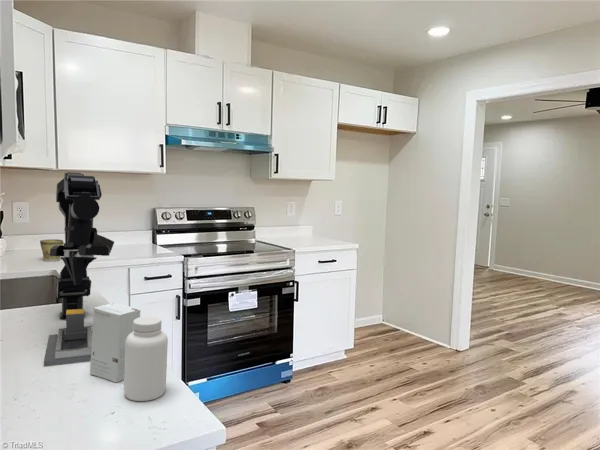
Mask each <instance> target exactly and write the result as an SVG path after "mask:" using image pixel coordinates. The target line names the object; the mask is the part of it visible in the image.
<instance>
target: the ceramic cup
mask: <svg viewBox="0 0 600 450" xmlns="http://www.w3.org/2000/svg"><path fill="white" fill-rule="evenodd" d="M39 242H40V247H41V251H42V252H41V253H42V258H43V260H44V262H47V263H48V262H58V261H59V262H60V260H61V256H50V249H51V248H52V247H53V246H57V245H64V243H65V241H64V240H63V239H58V238H57V239H55V238H52V239H51V238H48V239H40V240H39Z"/></svg>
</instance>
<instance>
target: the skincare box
mask: <svg viewBox="0 0 600 450" xmlns="http://www.w3.org/2000/svg"><path fill="white" fill-rule="evenodd" d="M139 317H141V309H140V308H135V307H132V306H129V305H126V304H121V303H116V302H112V303H107V304H104V305H99V306H95V307H93V318H92V346H91V361H89V362H90V365H89V373H90V375H91V376H96V377H97V378H98V377H99V378H102V379H105V380H109V381H111V382H113V383H120V382H121V381H124V373H125V343H126V338H127V337H128V335H129V334H130V333H132V332H134V331H133V321H134V320H135V319H136V318H139Z"/></svg>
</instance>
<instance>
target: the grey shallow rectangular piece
mask: <svg viewBox="0 0 600 450" xmlns="http://www.w3.org/2000/svg"><path fill="white" fill-rule="evenodd" d="M85 327H86V338H85V339H75V340H64V329H66V327H65V328H58V331H57V332H58V333H56V334H49V335H48V338H47V339H48V340H47V343H46V348H45V354H44V358H43V367H44V368H45V367H52V366H60V365H67V364H68V365H69V364H77V363H78V364H79V363H86V362H91V346H92V331H93V328H92V326H91V325H89V326H84V328H85Z"/></svg>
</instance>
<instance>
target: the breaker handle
mask: <svg viewBox="0 0 600 450" xmlns="http://www.w3.org/2000/svg"><path fill="white" fill-rule="evenodd" d="M65 325H66V326H65V328H66V329H64V340H75V339H85V338H86V326H85V308H83V309H73V310H67V311H66V319H65ZM84 327H85V328H84Z"/></svg>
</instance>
